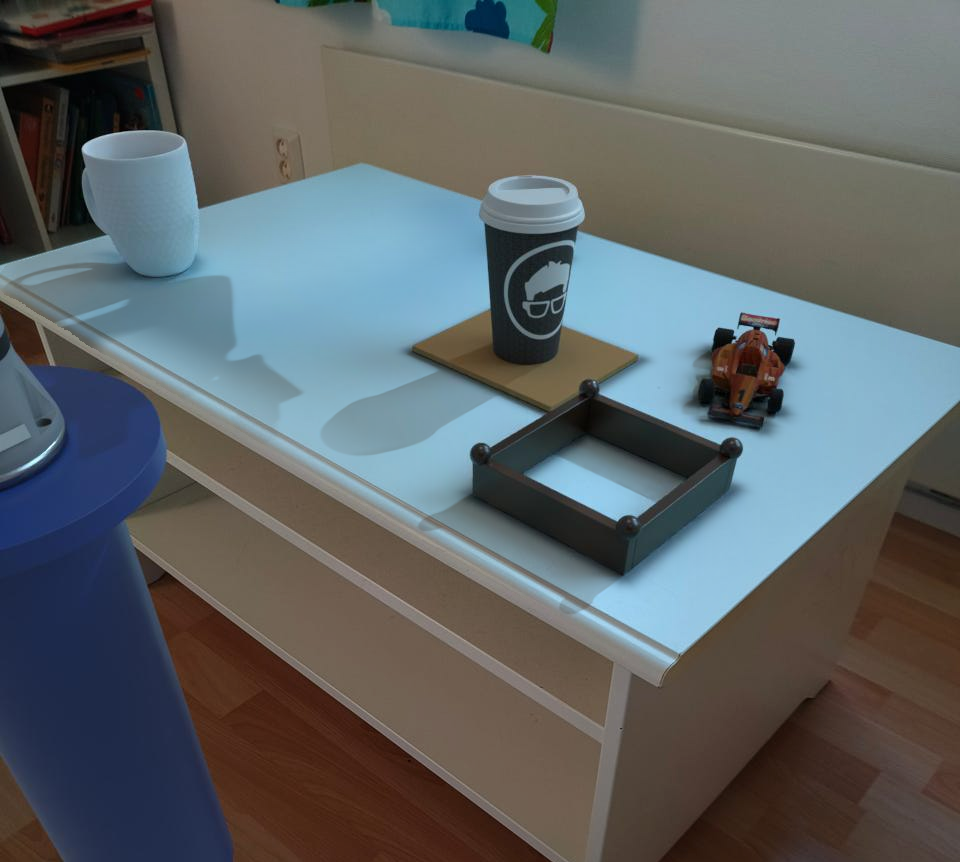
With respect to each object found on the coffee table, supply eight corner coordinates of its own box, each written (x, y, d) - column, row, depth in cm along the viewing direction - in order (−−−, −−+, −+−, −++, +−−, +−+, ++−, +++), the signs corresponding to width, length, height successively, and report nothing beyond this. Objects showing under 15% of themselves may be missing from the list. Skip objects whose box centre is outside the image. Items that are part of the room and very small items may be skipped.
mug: (69, 267, 104) (31, 145, 95) (135, 237, 111) (105, 120, 102) (168, 292, 100) (137, 165, 90) (230, 258, 107) (207, 138, 97)
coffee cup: (579, 334, 91) (593, 176, 81) (565, 377, 85) (578, 212, 74) (489, 324, 93) (491, 168, 82) (468, 366, 86) (467, 202, 76)
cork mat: (411, 351, 90) (411, 345, 89) (502, 307, 97) (502, 302, 97) (550, 412, 81) (550, 406, 81) (638, 360, 89) (638, 354, 88)
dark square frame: (465, 495, 72) (464, 444, 68) (583, 421, 80) (588, 372, 77) (625, 580, 64) (633, 528, 61) (737, 488, 73) (749, 438, 69)
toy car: (690, 417, 81) (698, 373, 78) (714, 340, 92) (723, 299, 89) (777, 432, 79) (789, 388, 76) (791, 352, 90) (802, 310, 87)
